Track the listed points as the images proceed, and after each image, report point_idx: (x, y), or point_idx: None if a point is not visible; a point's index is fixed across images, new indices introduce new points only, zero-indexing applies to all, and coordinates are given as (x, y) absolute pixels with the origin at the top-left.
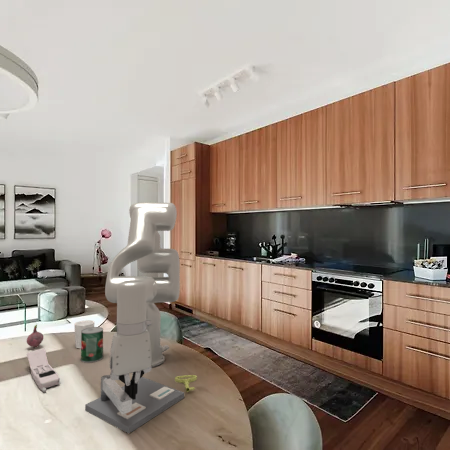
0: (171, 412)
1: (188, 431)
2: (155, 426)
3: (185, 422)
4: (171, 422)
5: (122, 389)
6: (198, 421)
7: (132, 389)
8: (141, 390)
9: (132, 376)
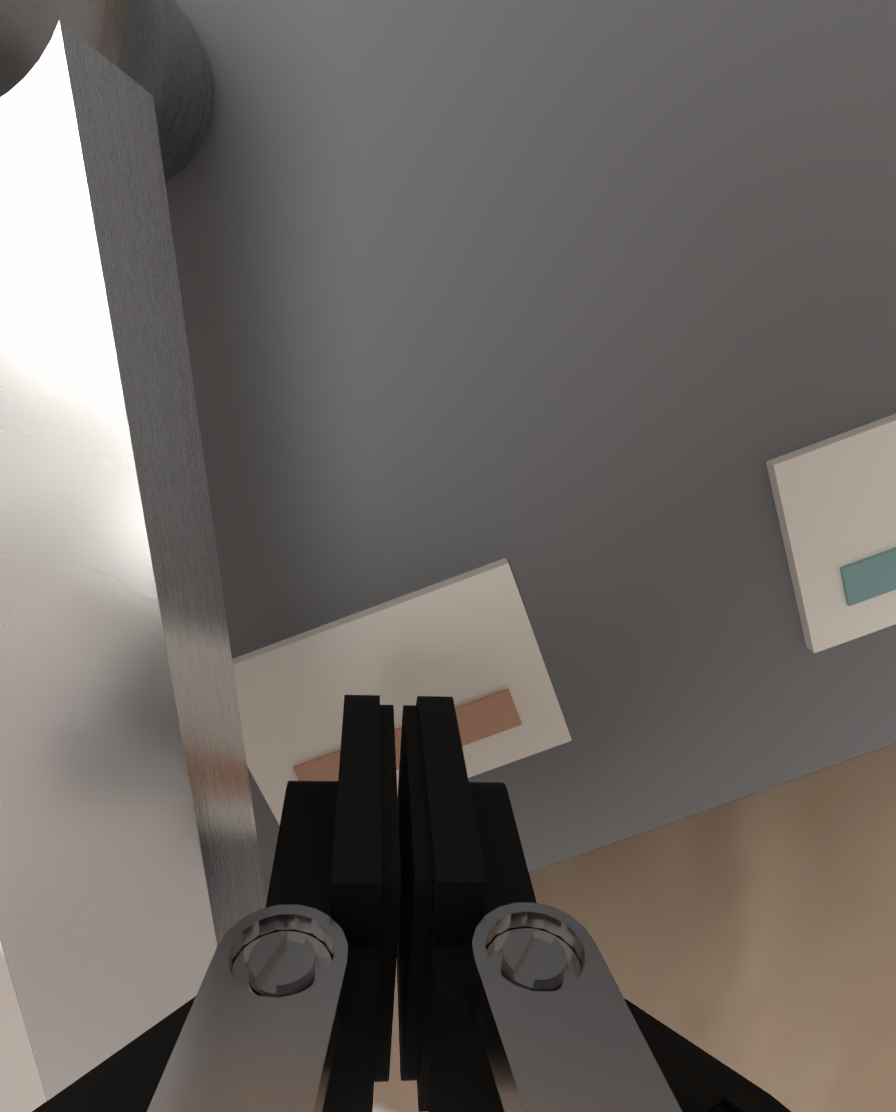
0: (788, 807)
1: None
2: None
3: (786, 999)
4: (689, 945)
5: (204, 931)
6: (878, 1034)
7: (400, 968)
8: (756, 200)
9: (480, 1015)
